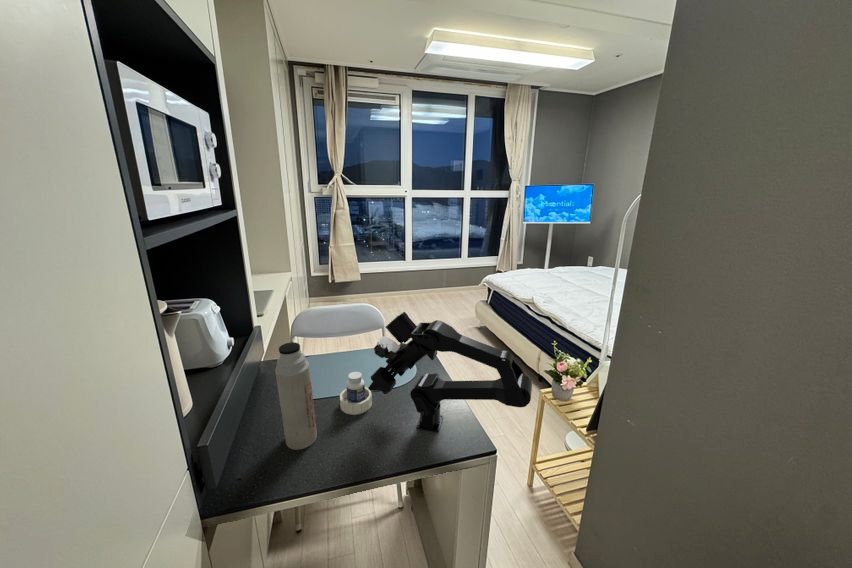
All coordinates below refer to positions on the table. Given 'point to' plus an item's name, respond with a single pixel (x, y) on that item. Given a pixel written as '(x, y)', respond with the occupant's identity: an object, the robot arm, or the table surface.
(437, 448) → the table surface
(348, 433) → the table surface
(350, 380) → the pill bottle
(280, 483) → the table surface
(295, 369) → the thermos bottle
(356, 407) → the bowl
